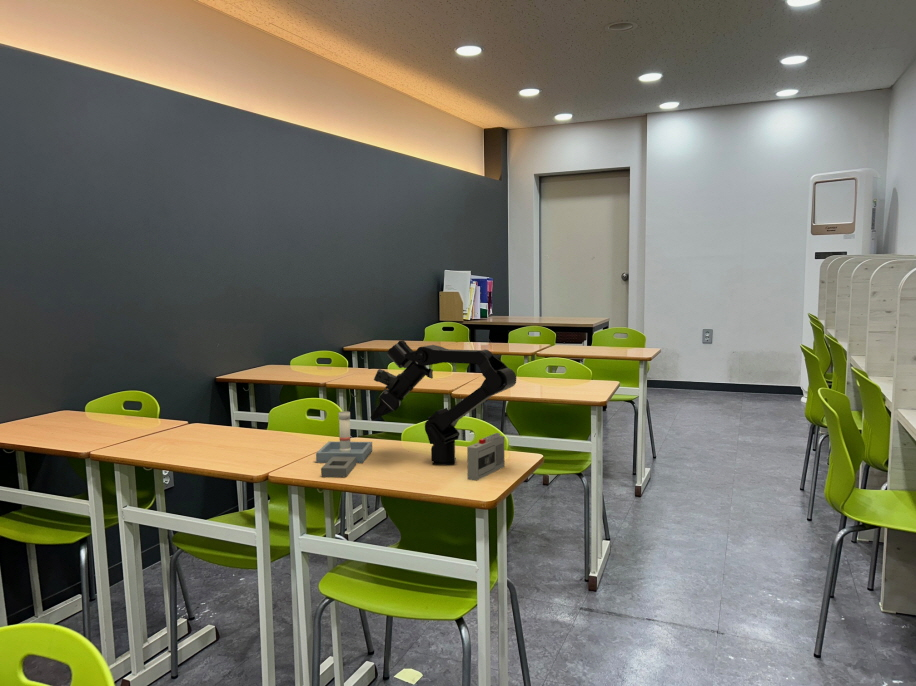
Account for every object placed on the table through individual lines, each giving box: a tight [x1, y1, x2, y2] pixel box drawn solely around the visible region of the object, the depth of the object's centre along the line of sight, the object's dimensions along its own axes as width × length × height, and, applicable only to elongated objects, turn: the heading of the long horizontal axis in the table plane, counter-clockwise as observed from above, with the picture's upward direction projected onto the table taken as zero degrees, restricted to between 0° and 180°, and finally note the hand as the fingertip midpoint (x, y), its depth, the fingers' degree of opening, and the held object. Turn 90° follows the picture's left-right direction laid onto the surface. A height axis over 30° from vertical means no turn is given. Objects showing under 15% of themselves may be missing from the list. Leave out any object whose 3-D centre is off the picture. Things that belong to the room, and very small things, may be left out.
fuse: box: [338, 410, 351, 452], centre depth 200 cm, size 3×3×13 cm
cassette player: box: [466, 432, 505, 481], centre depth 183 cm, size 16×3×10 cm, turn 147°
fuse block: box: [320, 457, 357, 478], centre depth 186 cm, size 7×12×2 cm, turn 176°
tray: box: [315, 440, 373, 464], centre depth 201 cm, size 14×14×3 cm
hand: (373, 415), depth 197 cm, fingers open, 9 cm apart
